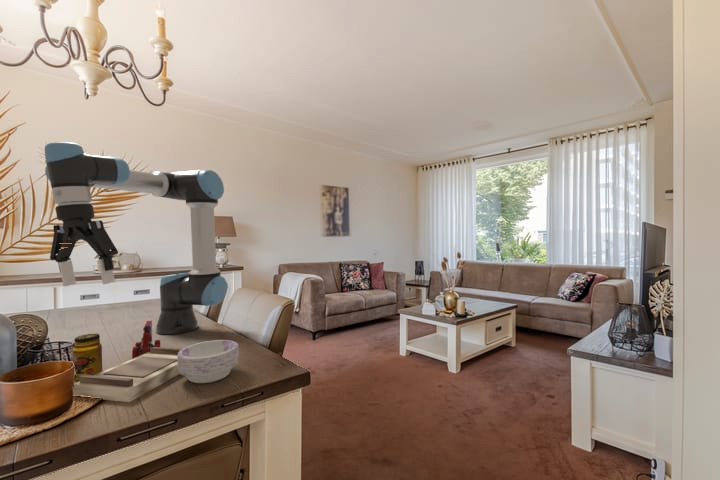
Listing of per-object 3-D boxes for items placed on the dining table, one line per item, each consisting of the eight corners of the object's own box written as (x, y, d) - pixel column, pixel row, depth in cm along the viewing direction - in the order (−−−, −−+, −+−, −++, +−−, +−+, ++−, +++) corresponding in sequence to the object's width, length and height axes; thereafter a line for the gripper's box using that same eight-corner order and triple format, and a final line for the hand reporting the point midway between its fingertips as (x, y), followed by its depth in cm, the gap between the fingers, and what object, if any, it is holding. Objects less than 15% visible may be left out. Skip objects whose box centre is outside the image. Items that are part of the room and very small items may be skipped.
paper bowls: (169, 377, 91) (169, 348, 91) (224, 361, 102) (224, 335, 102) (190, 395, 81) (189, 362, 81) (249, 375, 92) (248, 346, 91)
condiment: (69, 388, 85) (68, 341, 85) (73, 377, 92) (72, 333, 92) (105, 381, 89) (104, 336, 89) (106, 371, 96) (105, 329, 96)
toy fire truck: (130, 364, 101) (130, 330, 101) (137, 352, 112) (136, 320, 112) (157, 360, 104) (157, 327, 104) (161, 348, 115) (160, 318, 115)
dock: (152, 360, 104) (152, 345, 104) (198, 363, 101) (198, 348, 101) (72, 396, 81) (72, 377, 80) (129, 402, 77) (128, 382, 77)
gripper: (22, 209, 87) (38, 289, 89) (96, 199, 81) (112, 285, 83) (54, 208, 94) (68, 282, 96) (125, 199, 88) (138, 278, 90)
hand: (89, 284), depth 89 cm, fingers open, 13 cm apart
